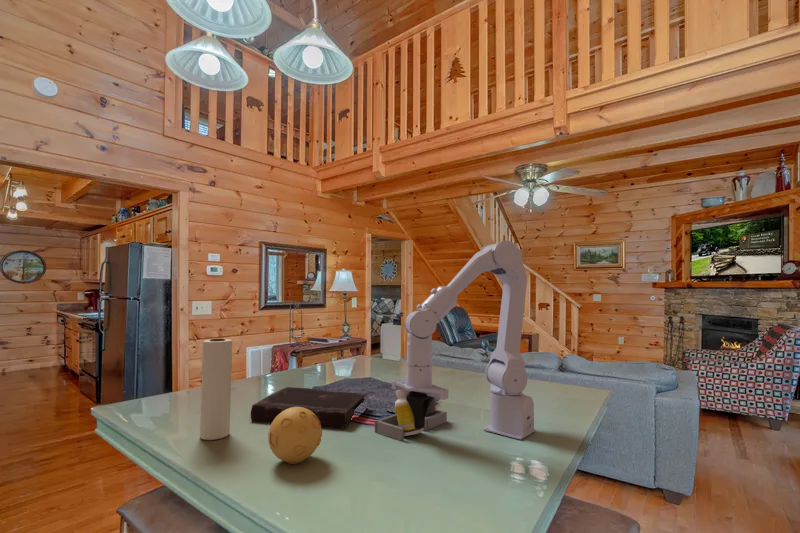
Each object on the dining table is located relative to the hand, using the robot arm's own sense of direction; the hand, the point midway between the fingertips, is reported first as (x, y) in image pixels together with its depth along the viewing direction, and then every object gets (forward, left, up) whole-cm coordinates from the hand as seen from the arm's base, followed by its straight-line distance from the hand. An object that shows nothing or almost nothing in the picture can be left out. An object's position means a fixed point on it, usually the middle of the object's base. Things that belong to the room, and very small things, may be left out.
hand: (418, 427), depth 88 cm
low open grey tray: (+10, -5, -2) cm, 12 cm away
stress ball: (+10, +25, -3) cm, 27 cm away
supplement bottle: (+2, 0, -2) cm, 3 cm away
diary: (+31, +5, -3) cm, 32 cm away
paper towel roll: (+35, +29, -3) cm, 46 cm away
